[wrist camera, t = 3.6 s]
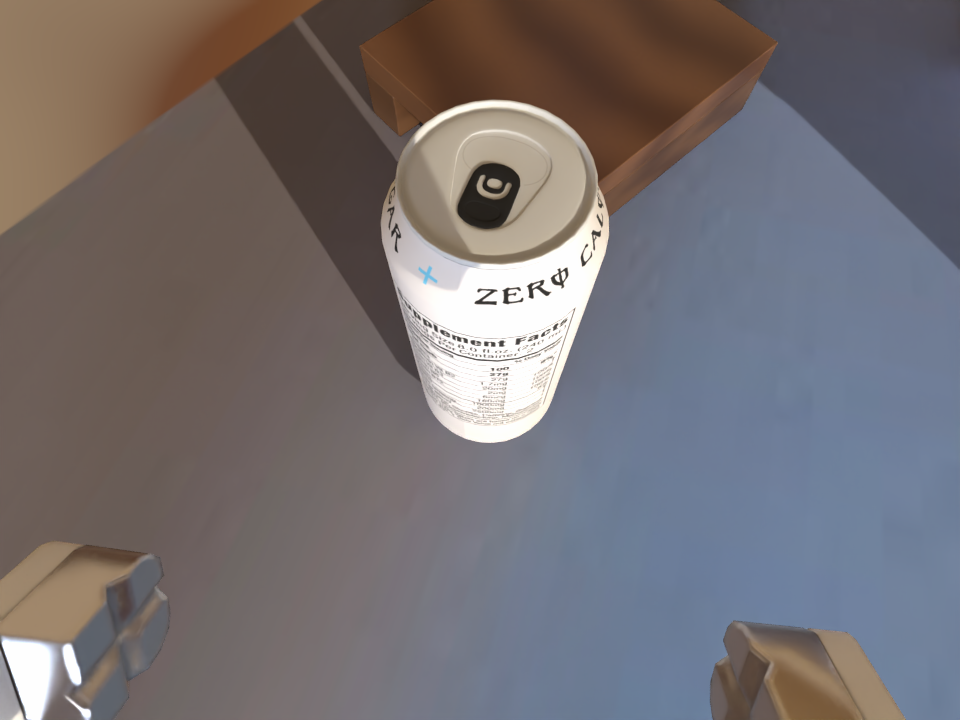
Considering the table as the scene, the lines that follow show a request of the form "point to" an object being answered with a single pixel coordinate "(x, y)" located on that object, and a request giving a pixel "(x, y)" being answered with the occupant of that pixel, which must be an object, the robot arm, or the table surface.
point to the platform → (577, 73)
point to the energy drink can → (493, 259)
